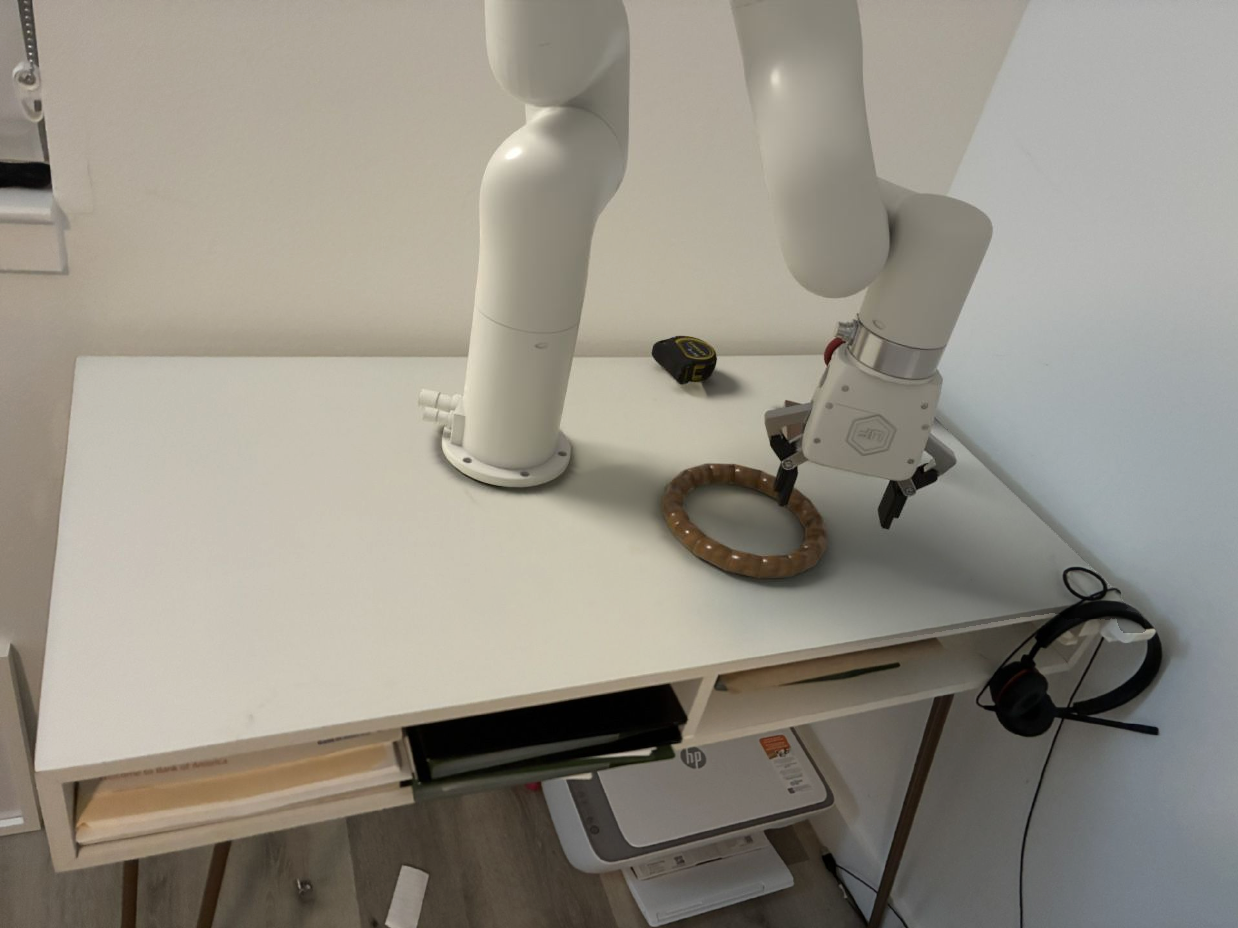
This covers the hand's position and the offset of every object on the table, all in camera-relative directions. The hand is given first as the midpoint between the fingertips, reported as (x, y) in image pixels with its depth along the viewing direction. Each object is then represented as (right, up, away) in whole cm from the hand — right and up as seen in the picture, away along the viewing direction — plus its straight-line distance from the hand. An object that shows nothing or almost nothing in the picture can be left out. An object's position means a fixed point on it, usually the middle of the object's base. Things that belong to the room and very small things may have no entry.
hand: (832, 509), depth 86 cm
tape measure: (-13, +15, +25) cm, 31 cm away
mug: (+9, +13, +30) cm, 34 cm away
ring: (-8, -1, +2) cm, 8 cm away
